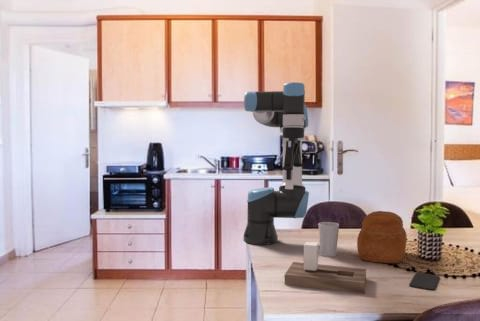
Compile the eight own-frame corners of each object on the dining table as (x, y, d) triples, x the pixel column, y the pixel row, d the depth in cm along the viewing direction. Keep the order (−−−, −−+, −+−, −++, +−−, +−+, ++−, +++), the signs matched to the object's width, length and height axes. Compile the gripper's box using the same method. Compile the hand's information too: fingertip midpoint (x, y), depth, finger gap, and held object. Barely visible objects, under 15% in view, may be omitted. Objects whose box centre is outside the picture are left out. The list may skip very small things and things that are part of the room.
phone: (440, 275, 141) (434, 289, 128) (440, 278, 141) (434, 292, 128) (416, 272, 145) (408, 284, 132) (416, 274, 145) (408, 287, 132)
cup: (338, 257, 163) (339, 226, 162) (317, 256, 164) (318, 225, 164) (338, 252, 171) (338, 222, 170) (318, 250, 172) (318, 221, 171)
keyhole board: (293, 270, 147) (293, 261, 146) (365, 278, 139) (366, 268, 139) (284, 284, 133) (284, 274, 133) (364, 293, 126) (364, 282, 126)
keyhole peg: (305, 277, 140) (305, 241, 140) (317, 278, 139) (318, 242, 138) (303, 281, 137) (303, 244, 136) (316, 282, 135) (316, 245, 135)
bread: (406, 251, 172) (407, 210, 171) (405, 266, 152) (406, 220, 151) (361, 247, 178) (362, 207, 177) (354, 261, 159) (355, 216, 158)
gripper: (297, 126, 138) (297, 191, 139) (309, 127, 161) (308, 182, 163) (275, 126, 140) (274, 190, 141) (290, 127, 164) (289, 182, 165)
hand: (292, 186), depth 152 cm, fingers open, 13 cm apart
